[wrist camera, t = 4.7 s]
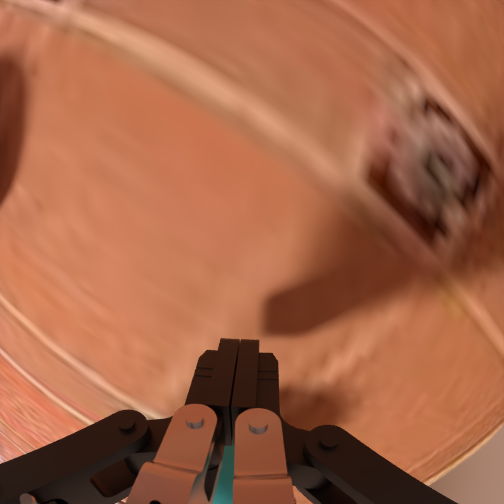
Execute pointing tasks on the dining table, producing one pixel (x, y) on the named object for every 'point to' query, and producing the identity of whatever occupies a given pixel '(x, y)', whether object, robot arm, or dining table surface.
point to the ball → (226, 478)
